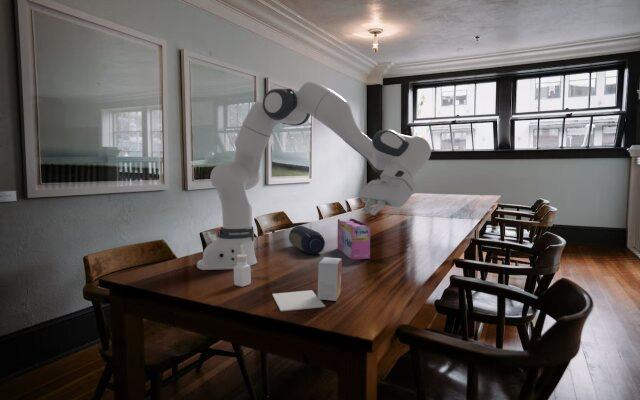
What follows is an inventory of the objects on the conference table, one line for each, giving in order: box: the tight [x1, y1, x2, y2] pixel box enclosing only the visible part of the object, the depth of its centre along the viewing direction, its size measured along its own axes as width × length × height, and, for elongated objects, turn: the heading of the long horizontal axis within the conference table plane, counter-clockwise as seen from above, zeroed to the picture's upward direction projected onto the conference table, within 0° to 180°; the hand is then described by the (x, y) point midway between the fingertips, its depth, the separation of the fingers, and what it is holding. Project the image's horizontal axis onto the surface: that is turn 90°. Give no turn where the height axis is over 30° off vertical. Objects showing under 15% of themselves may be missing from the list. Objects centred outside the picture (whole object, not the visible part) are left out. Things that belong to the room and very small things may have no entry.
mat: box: [271, 289, 326, 313], centre depth 112 cm, size 12×14×1 cm
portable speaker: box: [288, 225, 326, 255], centre depth 178 cm, size 25×10×10 cm, turn 22°
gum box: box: [336, 218, 371, 260], centre depth 172 cm, size 24×8×14 cm, turn 13°
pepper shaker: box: [233, 254, 252, 288], centre depth 127 cm, size 4×4×10 cm
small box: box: [317, 256, 343, 302], centre depth 115 cm, size 8×6×10 cm
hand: (367, 213), depth 121 cm, fingers open, 2 cm apart
